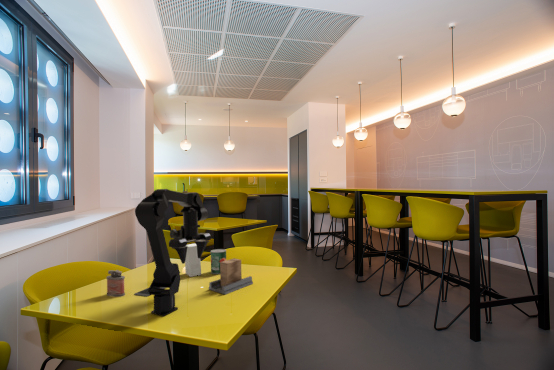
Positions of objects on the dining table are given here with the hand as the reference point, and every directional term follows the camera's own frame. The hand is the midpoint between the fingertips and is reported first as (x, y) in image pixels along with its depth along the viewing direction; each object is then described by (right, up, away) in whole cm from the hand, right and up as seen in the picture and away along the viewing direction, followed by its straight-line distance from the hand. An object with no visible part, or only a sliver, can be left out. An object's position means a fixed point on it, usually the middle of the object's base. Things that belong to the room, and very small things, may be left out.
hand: (191, 260), depth 117 cm
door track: (+16, -13, +6) cm, 21 cm away
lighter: (-31, -14, 0) cm, 34 cm away
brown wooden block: (+16, -12, +6) cm, 20 cm away
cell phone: (-17, -14, +4) cm, 23 cm away
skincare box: (-7, -14, +26) cm, 30 cm away
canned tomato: (+6, -14, +28) cm, 32 cm away
